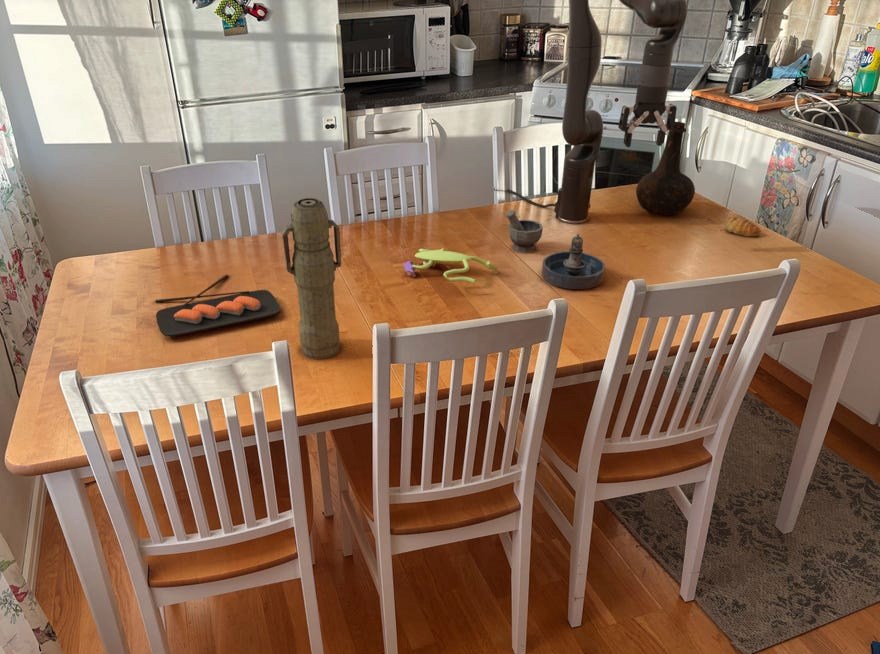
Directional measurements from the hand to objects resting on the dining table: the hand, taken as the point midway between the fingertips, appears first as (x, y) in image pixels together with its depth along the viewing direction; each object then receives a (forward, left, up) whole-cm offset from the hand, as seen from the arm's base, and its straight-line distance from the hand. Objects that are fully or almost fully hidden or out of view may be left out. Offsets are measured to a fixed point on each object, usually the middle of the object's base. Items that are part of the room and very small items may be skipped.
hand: (643, 145), depth 195 cm
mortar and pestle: (-24, -18, -30) cm, 43 cm away
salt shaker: (-3, -26, -30) cm, 39 cm away
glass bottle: (-5, +36, -30) cm, 47 cm away
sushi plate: (-66, -97, -30) cm, 121 cm away
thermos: (-29, -95, -30) cm, 104 cm away
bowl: (-3, -26, -30) cm, 40 cm away
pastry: (+21, +34, -30) cm, 50 cm away
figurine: (-30, -45, -30) cm, 62 cm away
